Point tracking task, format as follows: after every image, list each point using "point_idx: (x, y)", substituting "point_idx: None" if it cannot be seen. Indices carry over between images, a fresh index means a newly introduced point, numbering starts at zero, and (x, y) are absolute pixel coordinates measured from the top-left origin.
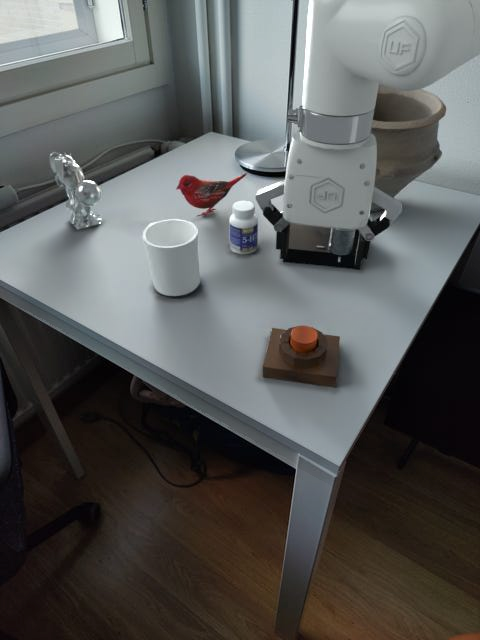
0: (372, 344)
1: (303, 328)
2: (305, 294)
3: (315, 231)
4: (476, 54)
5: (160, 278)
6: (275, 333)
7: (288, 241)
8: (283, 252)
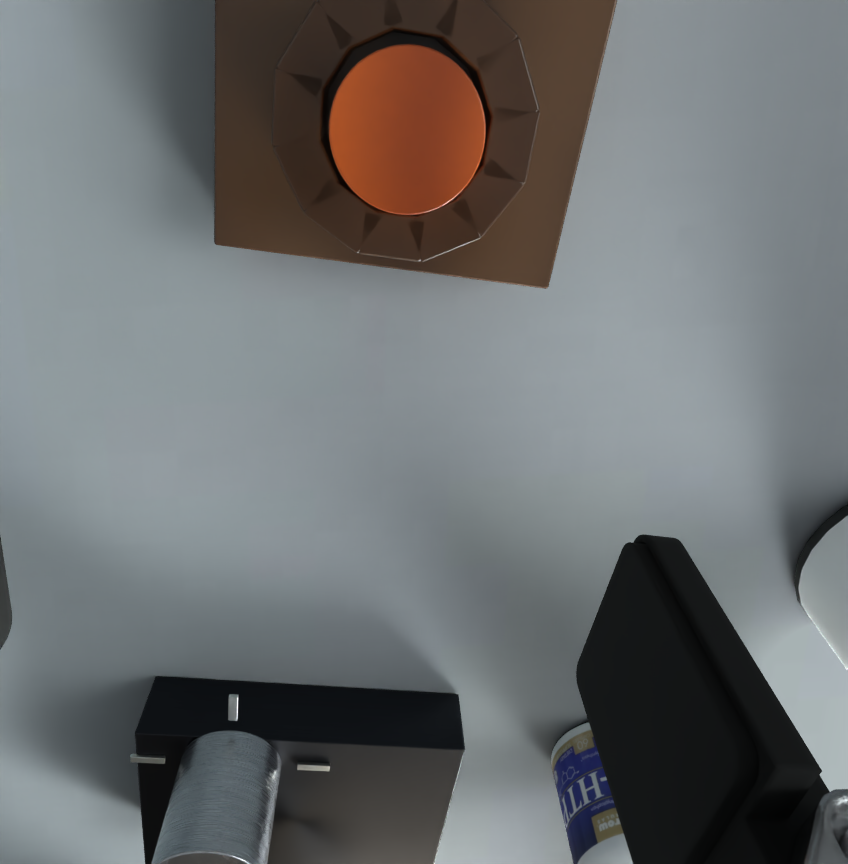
0: (68, 254)
1: (410, 187)
2: (374, 537)
3: (333, 837)
4: None
5: None
6: (533, 248)
7: (607, 712)
8: (677, 578)
